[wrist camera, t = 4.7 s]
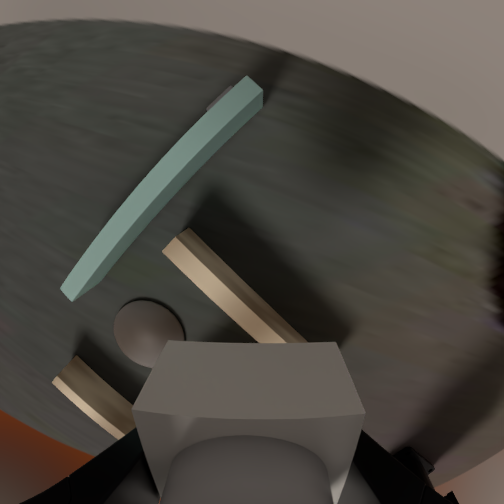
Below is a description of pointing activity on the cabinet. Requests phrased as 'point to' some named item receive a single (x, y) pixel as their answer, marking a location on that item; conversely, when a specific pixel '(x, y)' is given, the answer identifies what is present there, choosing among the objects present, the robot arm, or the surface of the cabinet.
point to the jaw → (249, 423)
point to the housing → (170, 330)
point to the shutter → (164, 183)
